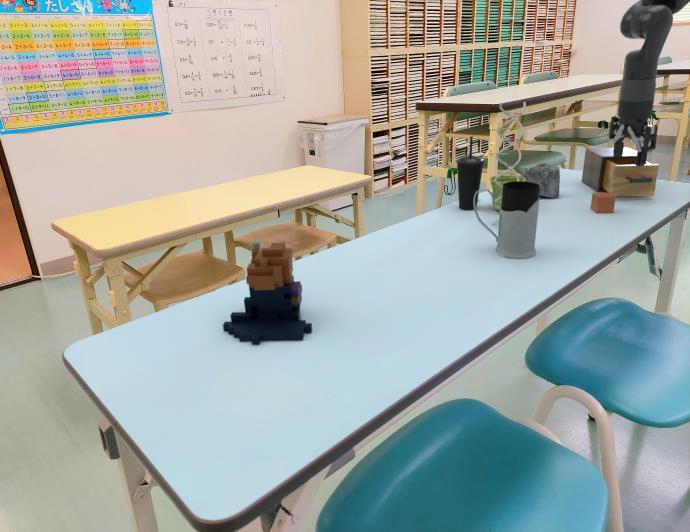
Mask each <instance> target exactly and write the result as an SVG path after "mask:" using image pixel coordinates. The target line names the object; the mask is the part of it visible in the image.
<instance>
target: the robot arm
mask: <svg viewBox="0 0 690 532" xmlns="http://www.w3.org/2000/svg"><path fill="white" fill-rule="evenodd" d="M689 3H690V0H638V1H636V2H635V3H634V4H633V5H631V6H630V7H629V8H628V9H627V10H626V11H625V12H624V14H623V15H622V18H621V20H620V23H619V31H620V34H621V35H622V36H623V37H624V38H626V39H630V40H644V41H643V44H642V46H641V47H640V49H635V50H631V51H629V52H628V53H626V54H625V57H624V62H623V69H622V71H623V72H622V78H621V83H620V88H619V96H618V104H617V105H618V106H617V113H616V115H613V116H611V118H610V124H609V130H608V131H609V132H608V139H609V140H611V141H612V143H613V148H614V150H613V156H614V157H616V158H617V157H621V156H622V155H623V148H624V147H625V142H624V141H625V140H626V139H627V138H628V139H629V140H631V141H632V143H633V145H635V147H636V151H637V156H636V164H635V165H636V166H643V165H645V163H646V162H647V160H648V152H649V151H654V150H656V148H657V147H656V146H657V138H658V127H659V126H658V125H657V124H652V125H651V124H649V121H648V120H649V118H650V117H651V116H652V115H653V109H654V103H655V97H656V96H655V95H656V89H657V73H658V66H659V60H660V56H661V53H662V51H663V49H664V46H665V43H666V41H667V39H668V37H669V34H670V33H671V30H672V28H673V27H672V26H673V23H674V15H675V14H678V13H679V12H680V11H682V10H683V9H684V8H685V7H686V6H687V5H688V4H689ZM641 137H642V138H641Z"/></svg>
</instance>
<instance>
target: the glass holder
mask: <svg viewBox="0 0 690 532" xmlns="http://www.w3.org/2000/svg"><path fill="white" fill-rule="evenodd" d="M539 190H540V185H538V184H536V183H532V182H524V181H514V182H507V183H504V184H503V189H502V203H501V207H500V208H498V207H495V205H494V195H493V191H492V190H490V189H488V188H479V190H478V191H477V192H476V193H475V195H474V199H473V206H474V213H475V216H476V219H477V220H478V222H479V223H480V224H481V225H482V226H483V227H484V228H485V229H486V230H487V231H488V232H489V233H491V235H492V236H493V237H495V242H496V243H497V245H496V247H495V248H494V252H495V251H496V252H497V253H498V254H500V255H499V256H501V255H503V256H505V257H504V258H507V257H510V258H509V259H514V258H519V259H518V260H521V259H520V258H525V259H530V258H533V257H535V256H536V255H537V250H536V247H535V245H536V236H537V227H538V217H539V208H540V198H541V196H539ZM482 191H483V192H484V191H486V192H487V193H489V195H490V196H491V205H492V208H493V209H494V208H495V209H494V210H497V209H498V210H500V211H499V218H498V219H499V222H498V233H497V234H496V233H495V232H494V231H493V230H492V229H491V228H490V227H488V225H486V224H485V222H484V221H483V220H482V219H481V217H480V215H479V212H478V211H477V208H476V206H475V198H476V194H477V193H478V192H479V193H480V192H482ZM498 210H497V211H498ZM496 252H495V253H496ZM497 253H496V254H497ZM498 254H497V255H498ZM503 256H502V257H503Z"/></svg>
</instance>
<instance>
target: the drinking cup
mask: <svg viewBox="0 0 690 532" xmlns="http://www.w3.org/2000/svg"><path fill="white" fill-rule="evenodd" d="M473 141H474V137H473V136H471V135H470V137H469V154H468V155H467V154H466V155H463V156H461V157H459V158H457V159H456V160H455V162H456V169H457V190H458V208H459V209H460V210H462V209H463V210H462V211H473V209H474V206H473V199H474V195H475V193H476V192H477V191H478V190H480V189H481V181H482V175H483V170H484V169H483V168H484V163H485V159H484V158H482V157H480V156H479V155H474V154H473ZM479 193H480V191H479V192H478V193H477V194H476V198H475V206H476V209H477V207H478V202H479V201H478V200H479Z"/></svg>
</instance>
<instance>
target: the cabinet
mask: <svg viewBox="0 0 690 532" xmlns="http://www.w3.org/2000/svg"><path fill="white" fill-rule="evenodd" d="M613 150H614V147H593V148H592V147H587V148H585V152H584V161H583V168H582V175H581V183H583V184H584V185H586V186H587V187H588V188H590V189H591V190H593V191H594V192H595V193H609V192H608V191H606V190H605V189H603V188H602V187H601V182H602V175H603V169H604V162H605V160H607V159H636V156H637V152H638V150H635V149H632V148H631V147H628V146H627V147H625V146H624V148H623V155H622V156H621V157H617V158H616V157H614V156H613Z"/></svg>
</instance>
